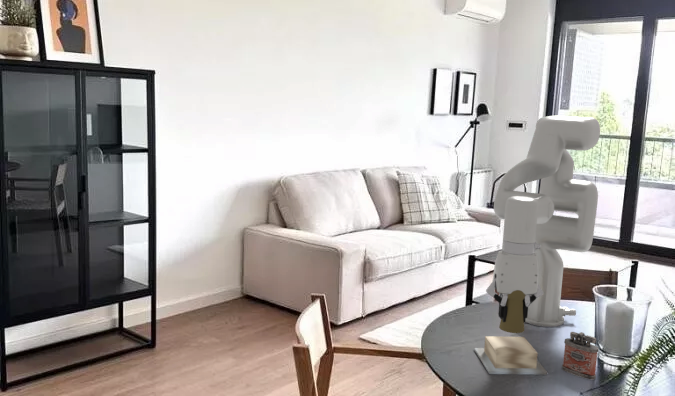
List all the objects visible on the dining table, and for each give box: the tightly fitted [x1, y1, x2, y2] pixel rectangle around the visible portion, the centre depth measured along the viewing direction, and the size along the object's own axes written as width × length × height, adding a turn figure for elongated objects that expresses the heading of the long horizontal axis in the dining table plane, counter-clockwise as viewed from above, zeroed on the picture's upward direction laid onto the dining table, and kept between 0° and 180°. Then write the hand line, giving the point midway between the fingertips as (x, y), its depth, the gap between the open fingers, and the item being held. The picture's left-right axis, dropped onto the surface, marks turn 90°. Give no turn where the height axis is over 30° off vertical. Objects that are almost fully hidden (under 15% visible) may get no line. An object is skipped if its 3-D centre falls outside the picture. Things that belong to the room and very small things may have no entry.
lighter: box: [561, 331, 599, 381], centre depth 151 cm, size 8×3×10 cm, turn 44°
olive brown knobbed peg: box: [499, 290, 526, 334], centre depth 154 cm, size 6×6×11 cm
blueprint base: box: [473, 335, 548, 376], centre depth 157 cm, size 14×14×5 cm
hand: (512, 319), depth 155 cm, fingers closed on olive brown knobbed peg, 4 cm apart
